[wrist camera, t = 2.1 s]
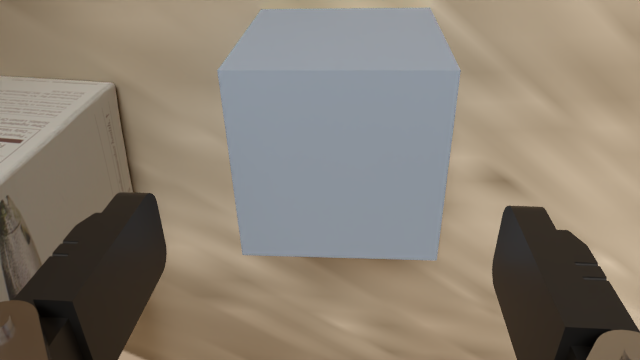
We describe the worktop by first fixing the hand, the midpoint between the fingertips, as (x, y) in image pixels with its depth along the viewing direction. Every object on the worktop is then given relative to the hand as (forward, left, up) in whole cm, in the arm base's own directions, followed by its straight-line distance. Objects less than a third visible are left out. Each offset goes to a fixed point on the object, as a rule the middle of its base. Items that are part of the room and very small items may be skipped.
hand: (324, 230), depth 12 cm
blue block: (-1, 0, -8) cm, 8 cm away
